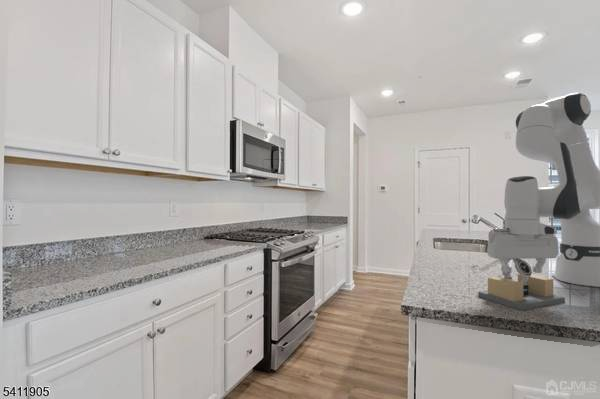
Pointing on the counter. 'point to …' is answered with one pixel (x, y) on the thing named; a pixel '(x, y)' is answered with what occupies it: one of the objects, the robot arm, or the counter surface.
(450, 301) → the counter surface
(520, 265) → the watch
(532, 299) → the holder
